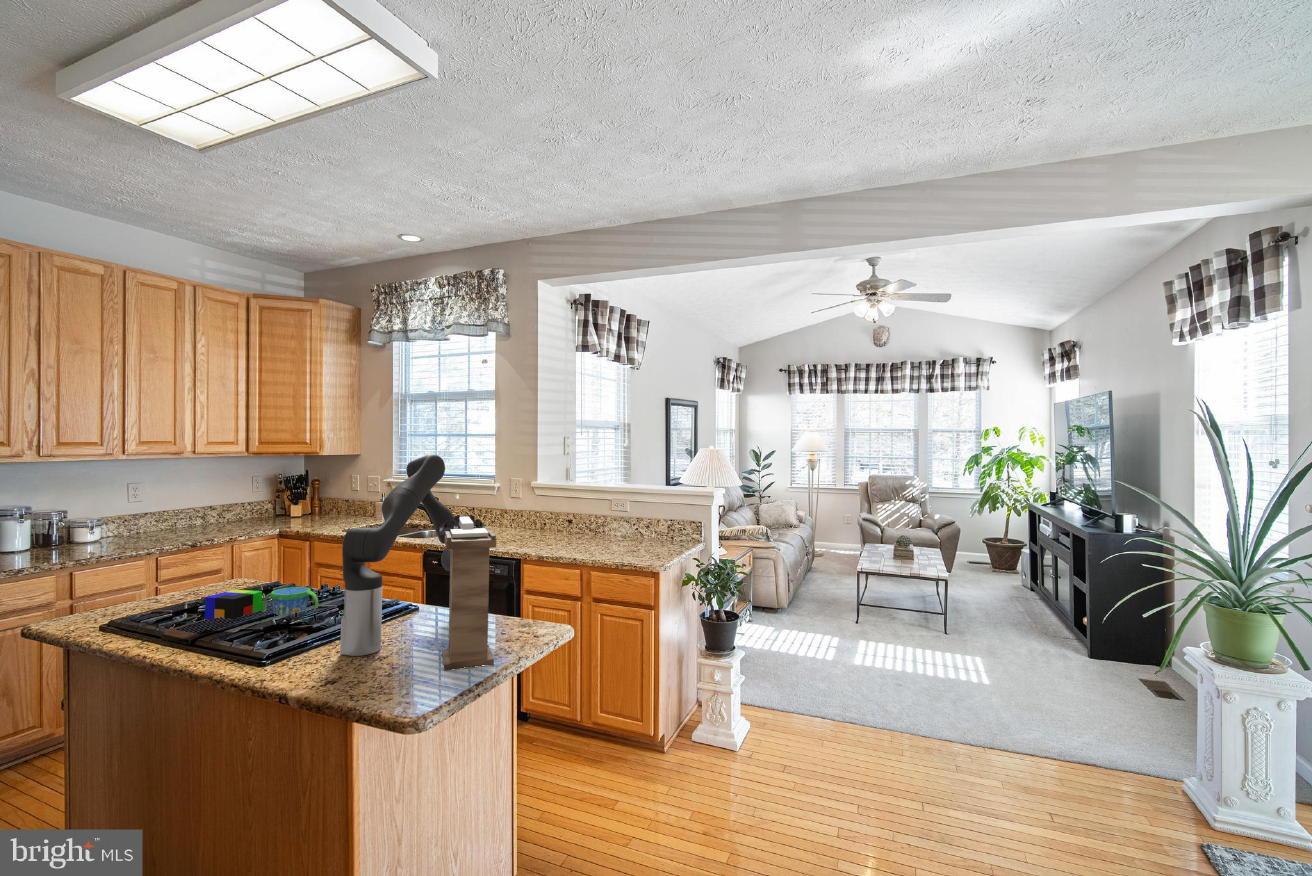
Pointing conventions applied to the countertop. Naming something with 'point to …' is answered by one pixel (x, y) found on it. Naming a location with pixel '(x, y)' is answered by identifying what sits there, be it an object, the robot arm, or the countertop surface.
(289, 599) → the snack cup
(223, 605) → the puzzle toy
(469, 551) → the stand
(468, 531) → the slide cover
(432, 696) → the countertop surface
